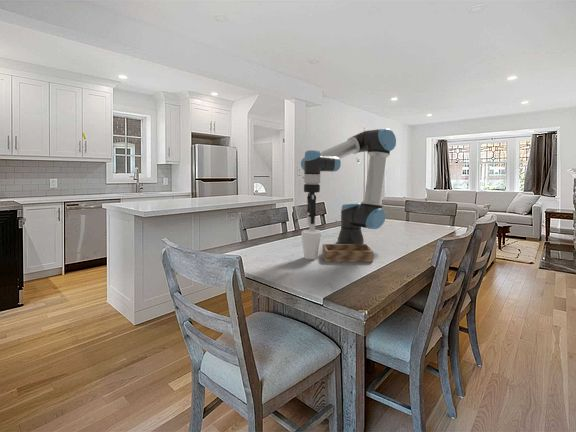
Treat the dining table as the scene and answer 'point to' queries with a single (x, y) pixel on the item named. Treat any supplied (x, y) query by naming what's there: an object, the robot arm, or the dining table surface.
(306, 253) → the foam cup
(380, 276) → the dining table surface
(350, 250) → the walnut box
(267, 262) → the dining table surface
